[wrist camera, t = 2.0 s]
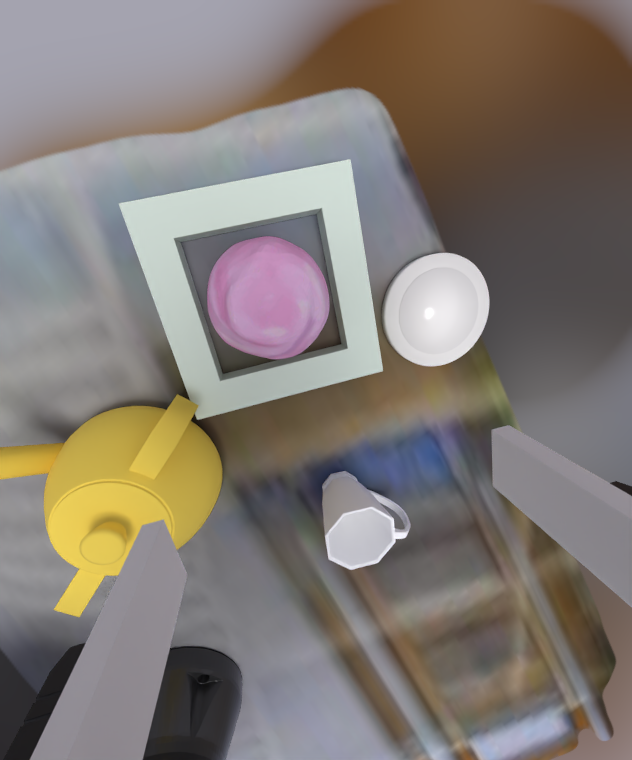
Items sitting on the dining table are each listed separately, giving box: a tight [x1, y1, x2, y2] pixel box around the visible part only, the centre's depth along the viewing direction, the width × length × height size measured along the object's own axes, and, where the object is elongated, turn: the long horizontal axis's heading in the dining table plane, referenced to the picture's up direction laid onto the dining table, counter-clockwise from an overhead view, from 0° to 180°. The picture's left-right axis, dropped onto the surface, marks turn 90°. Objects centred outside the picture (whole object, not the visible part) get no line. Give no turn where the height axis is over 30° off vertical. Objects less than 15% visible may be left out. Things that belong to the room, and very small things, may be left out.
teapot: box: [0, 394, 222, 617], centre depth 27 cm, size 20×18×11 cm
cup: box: [322, 471, 411, 570], centre depth 34 cm, size 7×10×8 cm
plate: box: [382, 253, 489, 366], centre depth 33 cm, size 11×11×1 cm
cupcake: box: [207, 236, 329, 359], centre depth 25 cm, size 9×9×10 cm
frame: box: [119, 159, 383, 420], centre depth 29 cm, size 18×18×2 cm
